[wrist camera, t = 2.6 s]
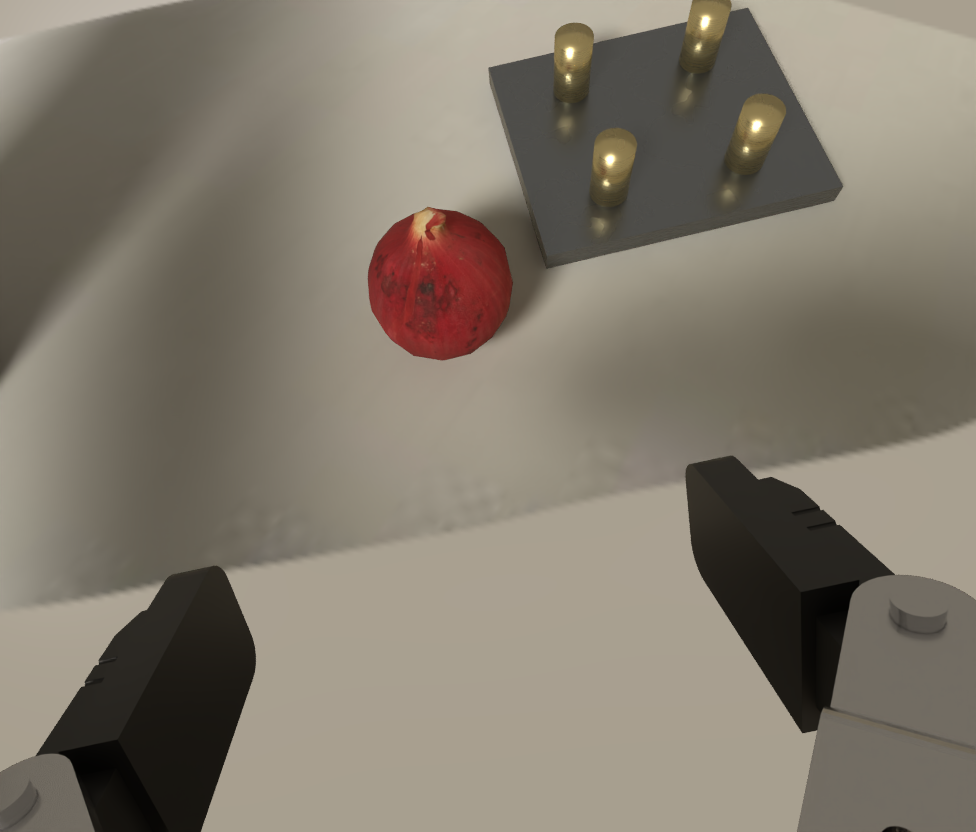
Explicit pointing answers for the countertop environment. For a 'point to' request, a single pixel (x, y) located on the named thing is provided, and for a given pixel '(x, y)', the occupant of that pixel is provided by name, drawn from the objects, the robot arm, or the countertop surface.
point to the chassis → (657, 135)
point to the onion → (439, 284)
